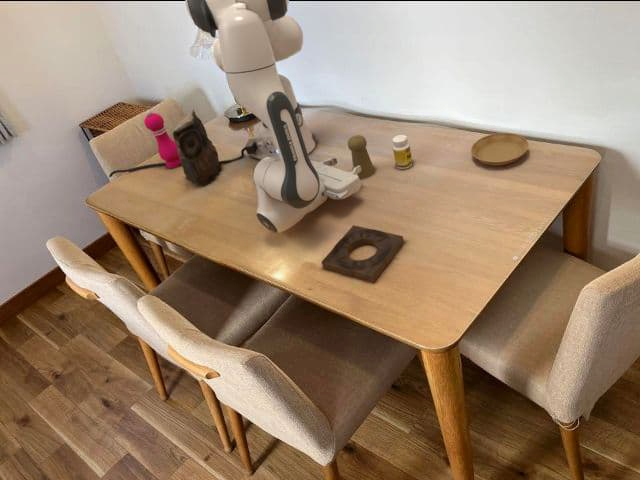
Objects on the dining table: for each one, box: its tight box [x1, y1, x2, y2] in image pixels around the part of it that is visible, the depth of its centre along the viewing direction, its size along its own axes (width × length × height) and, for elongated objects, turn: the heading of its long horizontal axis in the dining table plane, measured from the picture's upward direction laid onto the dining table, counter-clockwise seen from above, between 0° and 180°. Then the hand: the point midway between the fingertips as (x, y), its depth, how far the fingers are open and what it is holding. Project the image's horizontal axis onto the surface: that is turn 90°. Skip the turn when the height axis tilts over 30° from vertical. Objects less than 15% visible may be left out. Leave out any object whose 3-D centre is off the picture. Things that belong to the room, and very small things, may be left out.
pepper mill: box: [143, 109, 181, 169], centre depth 168 cm, size 7×7×20 cm
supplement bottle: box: [392, 134, 413, 170], centre depth 139 cm, size 5×5×8 cm
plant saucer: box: [470, 132, 530, 167], centre depth 134 cm, size 15×15×3 cm
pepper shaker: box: [347, 134, 375, 179], centre depth 140 cm, size 6×6×11 cm
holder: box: [321, 224, 405, 283], centre depth 116 cm, size 14×14×2 cm
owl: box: [172, 109, 222, 187], centre depth 156 cm, size 13×13×20 cm
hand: (346, 163), depth 137 cm, fingers open, 8 cm apart
